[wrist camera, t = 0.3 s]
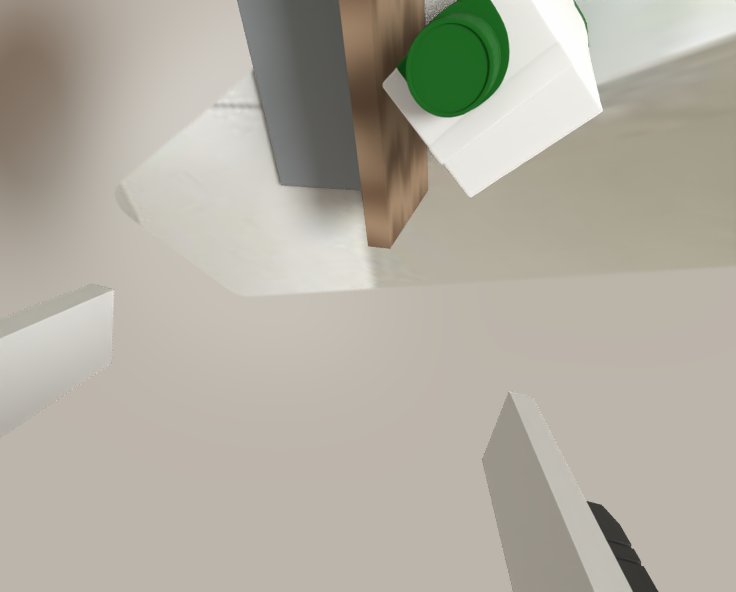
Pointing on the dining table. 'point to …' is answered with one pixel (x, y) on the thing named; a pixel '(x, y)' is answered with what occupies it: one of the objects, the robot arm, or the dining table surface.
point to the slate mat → (304, 90)
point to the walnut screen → (383, 113)
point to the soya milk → (496, 84)
